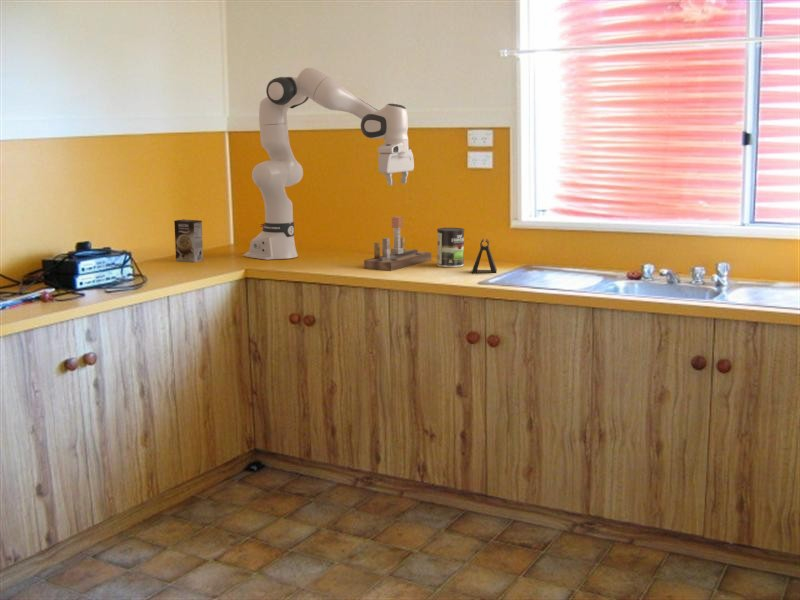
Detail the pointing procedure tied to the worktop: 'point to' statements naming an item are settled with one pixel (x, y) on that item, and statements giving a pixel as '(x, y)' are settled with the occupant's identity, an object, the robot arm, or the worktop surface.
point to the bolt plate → (395, 257)
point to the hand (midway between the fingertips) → (397, 184)
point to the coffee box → (188, 240)
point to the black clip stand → (490, 259)
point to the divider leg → (397, 235)
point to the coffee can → (450, 247)
